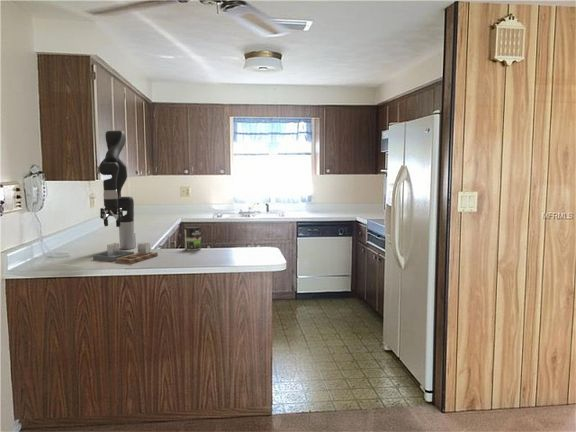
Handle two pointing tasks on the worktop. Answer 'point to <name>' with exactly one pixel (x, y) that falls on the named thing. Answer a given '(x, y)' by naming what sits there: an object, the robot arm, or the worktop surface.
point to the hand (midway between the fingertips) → (112, 226)
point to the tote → (105, 256)
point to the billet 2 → (144, 248)
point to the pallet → (135, 258)
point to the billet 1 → (113, 249)
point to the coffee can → (192, 237)
